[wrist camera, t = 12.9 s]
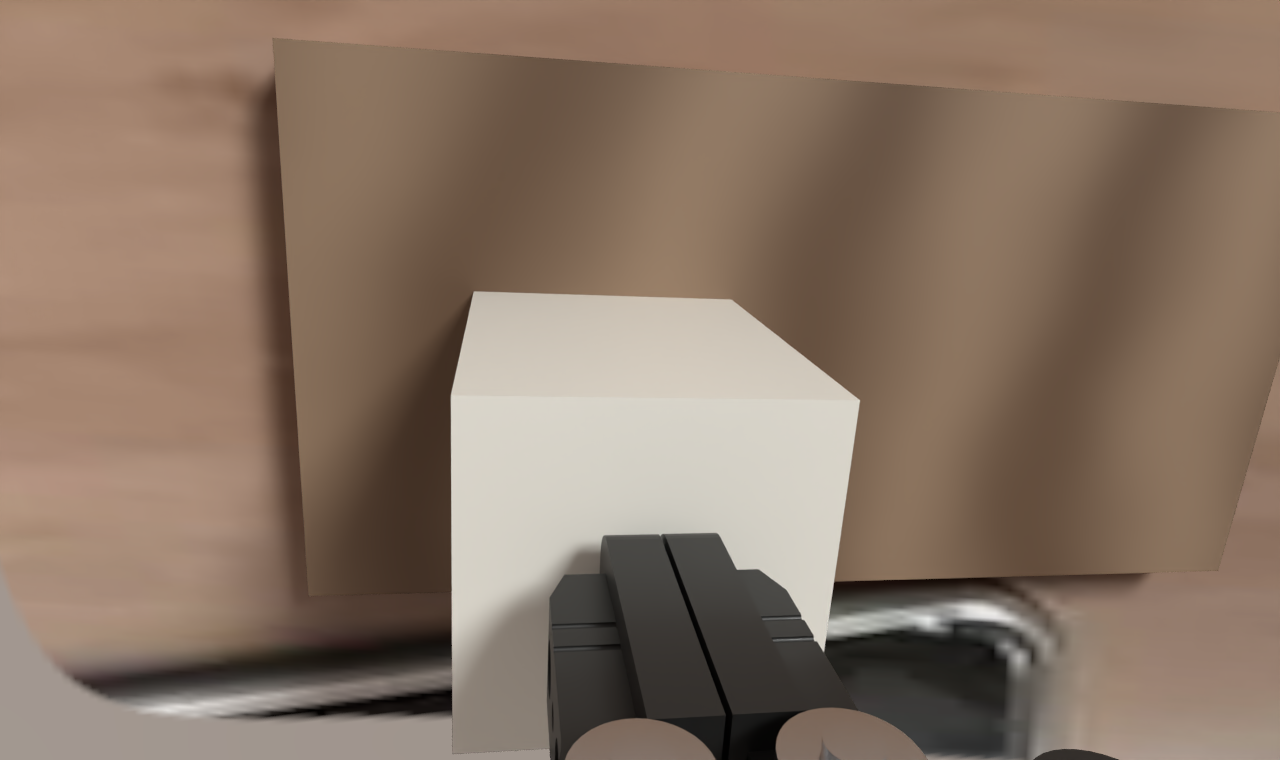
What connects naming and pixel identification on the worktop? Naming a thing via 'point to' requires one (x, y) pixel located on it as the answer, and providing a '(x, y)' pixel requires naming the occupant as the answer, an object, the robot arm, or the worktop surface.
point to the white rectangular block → (623, 471)
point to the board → (796, 290)
